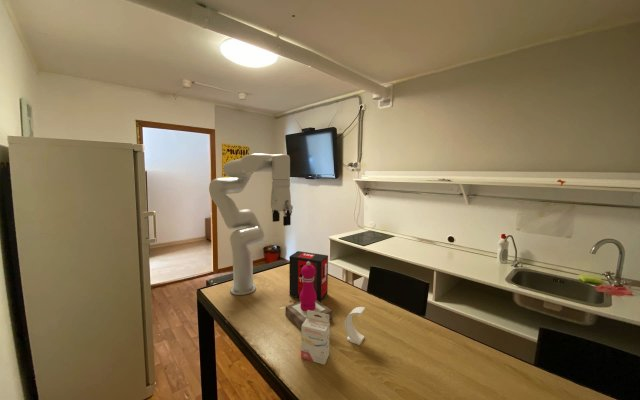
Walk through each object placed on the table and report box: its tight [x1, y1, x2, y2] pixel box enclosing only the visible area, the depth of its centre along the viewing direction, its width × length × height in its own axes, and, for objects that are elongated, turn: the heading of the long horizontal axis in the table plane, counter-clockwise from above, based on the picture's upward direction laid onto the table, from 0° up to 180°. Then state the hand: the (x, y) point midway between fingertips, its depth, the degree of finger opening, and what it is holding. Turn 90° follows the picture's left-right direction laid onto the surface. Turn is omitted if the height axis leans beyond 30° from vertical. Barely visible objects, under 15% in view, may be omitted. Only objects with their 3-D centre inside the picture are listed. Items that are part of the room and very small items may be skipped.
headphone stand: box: [344, 306, 366, 346], centre depth 94 cm, size 5×6×12 cm
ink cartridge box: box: [300, 310, 331, 366], centre depth 84 cm, size 9×5×15 cm, turn 71°
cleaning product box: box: [288, 250, 329, 303], centre depth 126 cm, size 16×9×20 cm, turn 68°
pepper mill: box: [298, 261, 317, 311], centre depth 106 cm, size 7×7×20 cm
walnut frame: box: [285, 300, 333, 330], centre depth 107 cm, size 14×14×4 cm
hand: (281, 223), depth 111 cm, fingers open, 9 cm apart
